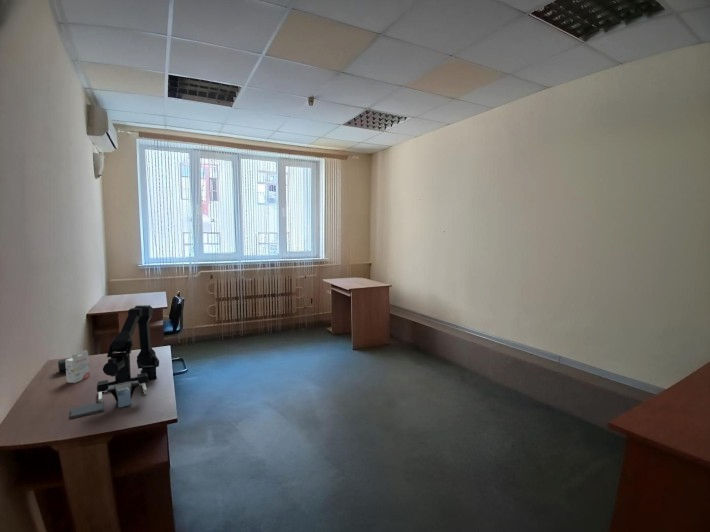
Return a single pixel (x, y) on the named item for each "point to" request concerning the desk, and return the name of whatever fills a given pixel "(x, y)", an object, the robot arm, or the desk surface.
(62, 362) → the end cap
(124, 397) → the blank block
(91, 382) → the desk surface
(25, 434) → the desk surface
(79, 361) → the ink cartridge box
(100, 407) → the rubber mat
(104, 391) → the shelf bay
